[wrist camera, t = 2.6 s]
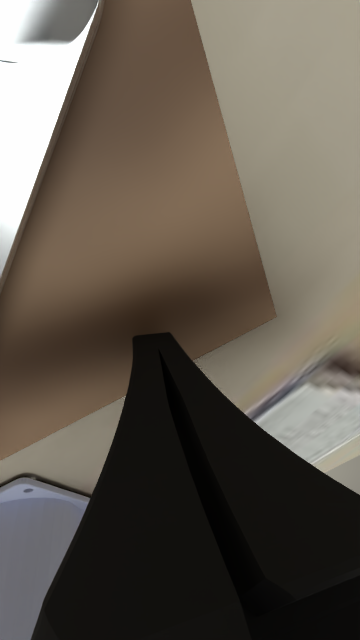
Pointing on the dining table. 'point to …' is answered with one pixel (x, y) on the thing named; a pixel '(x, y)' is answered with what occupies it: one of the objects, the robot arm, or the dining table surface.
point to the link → (35, 98)
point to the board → (127, 228)
